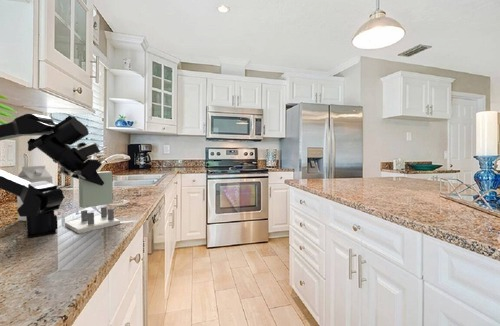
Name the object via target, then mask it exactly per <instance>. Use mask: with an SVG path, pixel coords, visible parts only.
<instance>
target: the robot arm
mask: <svg viewBox="0 0 500 326" xmlns="http://www.w3.org/2000/svg"><path fill="white" fill-rule="evenodd" d="M89 134H90V133H89V130H88V128H87V126H86V125H84V124H83V122H81V121H80V120H78V119H77V118H76V116H72V115H68V116H67V117H65V118H64V119H63V120H62V121H60V122H58V123H57V122H54V120H53V119H52V117H50V116H45V115H40V114H34V113H26V114H25V113H24V114H22V115H21V116H18V117H16V118H14V119H13V120H12V121H10V122H7V123H3V124H0V141H4V140H9V139H13V138H18V137H26V136H33V137H34V136H35V137H36V136H39V137H37V138H29V139H28V140H27V142H26V143H27V151H29V152H31V151H33V150H35V149H38V150H40V151H41V152H42V153H43V154H44V155H46V156H47V157H49V158H50V159H51V160H52V162H53V163H55V164H58V165H59V166H61V167H60V168H59V169H60V173H62V175H64V176H67V177H69V176H70V174H71V176H70V177H71V178H74V179H76V180H79V179H82V180H85V181H89V182H92V183H95V184H98V185H101V186H102V185H103V184H104V182H103V181H102V179H101V178H100V176H99V175H98V173H97V172H98V169H99V168H100V167H102V165H103V163H102V162H101V161H100V160H98V159H94V158H93V159H91V158H90V159H89V157H90V156H92V155H95V154H98V153H100V152H101V151H100V148H99V147H98V145H97V142H90V143H85V142H84V141H83V142H79V141H80V140H81V139H84V138H85V137H87V136H88V135H89ZM77 142H79V143H77ZM76 143H77V145H76V146H77V147H71V146H72V145H74V144H76ZM17 176H18V175H14V174H12V173H10V172H7V171H5V170H3V169H0V189H1V190H2V191H5V192H7V193H10V194H12V195H15V196H16V197H17V196H19V197H20V198H21V200H22V202H23V204H22V205H21V206H20V207H19V208H18V207H17V209H16V210H17V214H18V213H19V216H20V217H26V219H27V221H26V238H27V239H29V238H34V237H40V236H41V237H42V236H46V235H51V234H56V233H57V230H58V228H59V227H58V216H57V214H55V211H57V210H59V209H60V207H61V204H62V203H63V200H64V197H65V196H64V193H63V190H62V189H61V188H60V187H59V185H57V184H56V185H55V184H53V183H52V184H51V183H49V182H47V181H40V182H34V183H31V182H29V181H26V180H24V179H22V178H19V177H17ZM79 177H80V178H79Z"/></svg>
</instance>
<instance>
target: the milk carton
mask: <svg viewBox="0 0 500 326" xmlns="http://www.w3.org/2000/svg"><path fill="white" fill-rule="evenodd" d="M21 169H22V170H21V172H20V173H19V174H18V175H16V176H17V177H19V178H22V179H24V180H26V181H29V182H31V183H34V182H40V181H47V182H49V183H51V184H53V176H52V174H51V173H50V172H49V171H48V170H47V169H46V165H32V166H22V167H21ZM16 198H17V200H16V202H17V209H18V208H19V207H20V206H21V205H22V204H23V202H22V200H21V198H20V197H19V196H17V195H16ZM17 217H18V221H24V222H27V219H26V217H20V216H19V213H18V212H17Z"/></svg>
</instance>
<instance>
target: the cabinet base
mask: <svg viewBox="0 0 500 326" xmlns="http://www.w3.org/2000/svg"><path fill="white" fill-rule="evenodd" d="M114 214H115V213H114V208H109V209H107V206H100V215H95V213H94V212H88V210H87V209H83V210H80V218H79V219H76V220H75V219H74V220H70V221H65V222H64V226H65V227H66V228H67V229H70V230H72V231H74V232H75V233H77V234H78V233H79V234H82V233H81V232H83V233H87V231H88V232H91V230H92V231H96V230H99V229H103V228H109V227H112V226H116V225H121V220H120V219H117V218H115V215H114Z"/></svg>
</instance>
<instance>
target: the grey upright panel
mask: <svg viewBox="0 0 500 326" xmlns="http://www.w3.org/2000/svg"><path fill="white" fill-rule="evenodd" d="M97 173H98V175H99V176H100V178H101V179H102V181H103V182H104V184H103V185H102V186H101V185H98V184H95V183H92V182H89V181H85V180H82V179H78V202H79V203H78V204H79V206H78V207H79V208H81V209H85V208H93V207H99V206H100V207H101V206H104V205H106V206H107V205H111V204H113V203H114V200H113V199H114V192H113V191H114V189H113V182H114V176H113V171H97ZM79 178H80V177H79Z"/></svg>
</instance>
